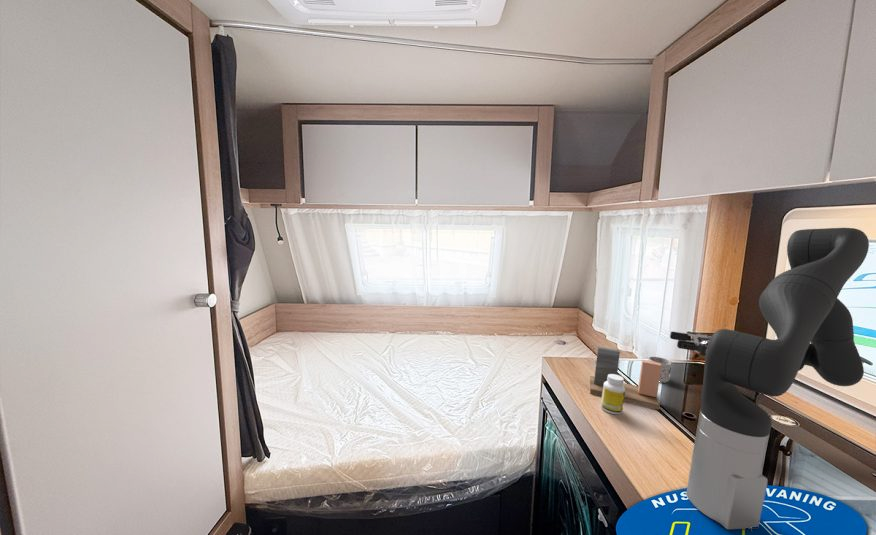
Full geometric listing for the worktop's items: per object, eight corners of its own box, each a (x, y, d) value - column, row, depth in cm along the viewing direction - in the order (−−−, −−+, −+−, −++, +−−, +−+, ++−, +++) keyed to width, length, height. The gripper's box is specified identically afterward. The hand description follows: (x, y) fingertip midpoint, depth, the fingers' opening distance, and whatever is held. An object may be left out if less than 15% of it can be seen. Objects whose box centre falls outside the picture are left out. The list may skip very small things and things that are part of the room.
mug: (673, 384, 108) (675, 365, 107) (651, 381, 109) (654, 363, 108) (657, 371, 118) (660, 354, 117) (638, 369, 119) (640, 352, 118)
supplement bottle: (625, 416, 87) (629, 382, 86) (603, 413, 88) (608, 380, 87) (618, 405, 93) (622, 374, 91) (598, 402, 94) (602, 371, 92)
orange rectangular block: (656, 397, 95) (661, 365, 94) (638, 393, 97) (643, 362, 95) (655, 394, 97) (660, 363, 95) (637, 390, 99) (642, 359, 97)
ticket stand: (659, 409, 91) (665, 365, 90) (590, 393, 99) (595, 351, 97) (652, 394, 100) (658, 353, 99) (589, 380, 108) (594, 341, 106)
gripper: (737, 330, 92) (670, 320, 98) (762, 345, 79) (682, 333, 86) (733, 354, 93) (666, 343, 99) (756, 374, 80) (678, 360, 87)
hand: (674, 339), depth 93 cm, fingers open, 8 cm apart
